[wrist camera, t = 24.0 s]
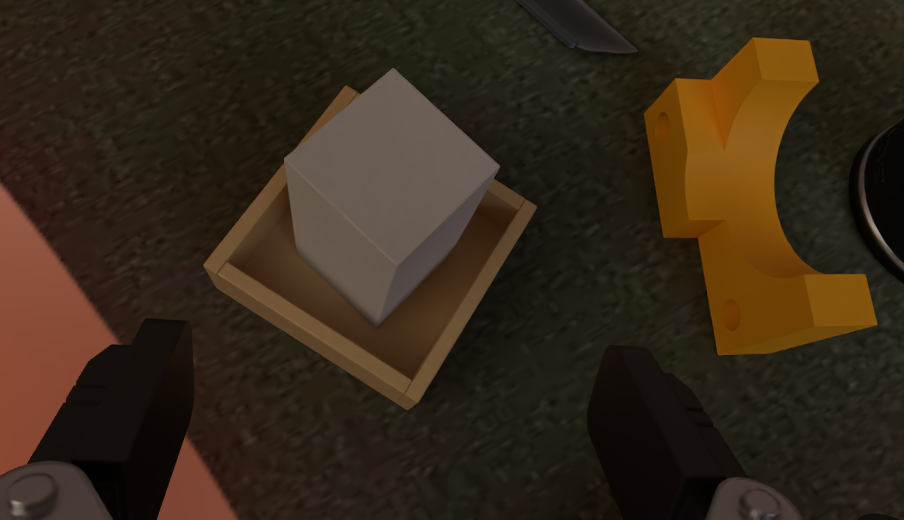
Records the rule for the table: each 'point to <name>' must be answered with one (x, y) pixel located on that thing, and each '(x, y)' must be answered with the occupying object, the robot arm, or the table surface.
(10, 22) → the table surface
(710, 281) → the pipe clamp
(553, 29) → the knife
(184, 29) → the table surface
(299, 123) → the table surface
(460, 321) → the wooden tray
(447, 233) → the gray block
